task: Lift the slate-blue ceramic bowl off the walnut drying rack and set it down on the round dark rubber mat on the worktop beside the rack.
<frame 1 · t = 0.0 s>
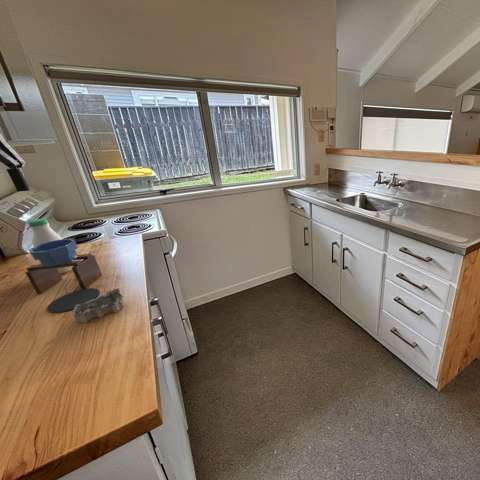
hand: (1, 196, 71), 32 cm above the countertop, tool pointing down, fingers open, 13 cm apart
mat: (74, 300, 78), on the countertop
bowl: (60, 260, 84), point 9 cm above the countertop, touching rack
rack: (71, 284, 87), on the countertop
egg carton: (102, 311, 73), on the countertop
milk bottle: (62, 271, 97), on the countertop
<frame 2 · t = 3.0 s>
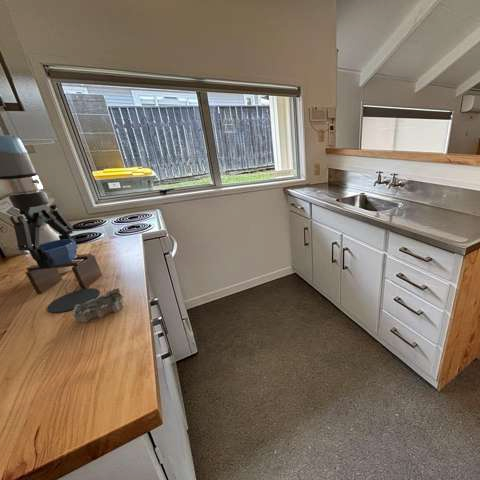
hand: (59, 259, 83), 9 cm above the countertop, tool pointing down, fingers closed on bowl, 10 cm apart
bowl: (60, 260, 84), point 9 cm above the countertop, touching gripper, rack
everything else where it was.
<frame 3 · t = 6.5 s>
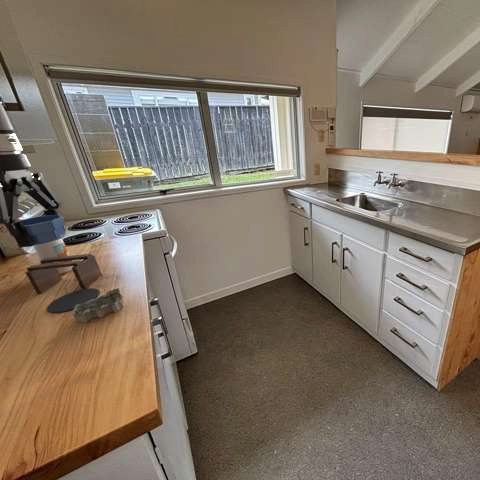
hand: (44, 238, 70), 20 cm above the countertop, tool pointing down, fingers closed on bowl, 10 cm apart
bowl: (45, 239, 71), point 20 cm above the countertop, touching gripper
everything else where it was.
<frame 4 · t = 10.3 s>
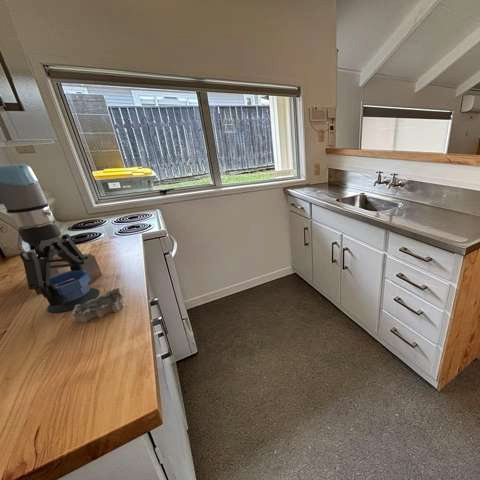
hand: (71, 293, 77), 2 cm above the countertop, tool pointing down, fingers closed on bowl, 10 cm apart
bowl: (71, 294, 77), point 2 cm above the countertop, touching gripper
everything else where it was.
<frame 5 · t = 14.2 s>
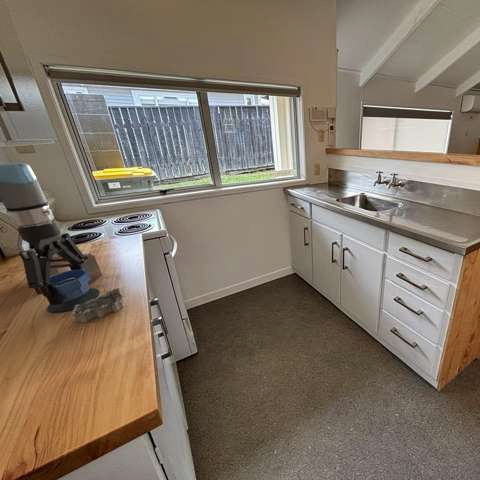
hand: (71, 292, 77), 3 cm above the countertop, tool pointing down, fingers closed on bowl, 10 cm apart
bowl: (71, 293, 77), point 2 cm above the countertop, touching gripper
everything else where it was.
when the fingers open (2 cm above the countertop, at t = 17.8 s): bowl drops 2 cm, resting on mat.
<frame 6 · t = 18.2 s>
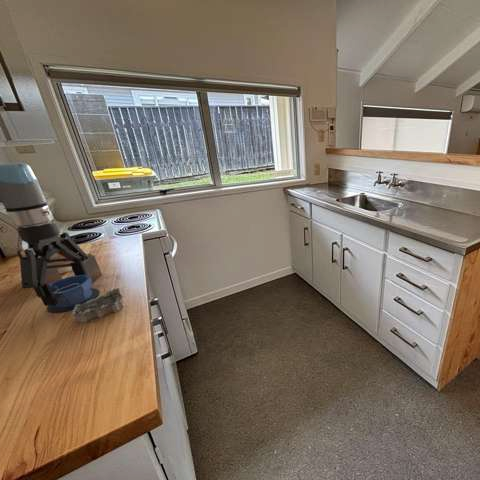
hand: (69, 291, 77), 3 cm above the countertop, tool pointing down, fingers open, 12 cm apart
bowl: (74, 299, 78), resting on mat
everything else where it was.
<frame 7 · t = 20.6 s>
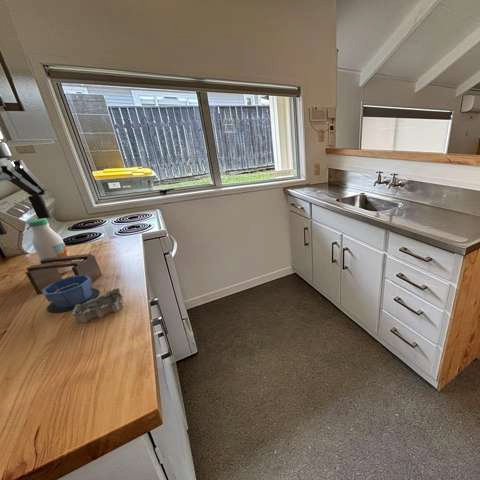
hand: (24, 225, 69), 24 cm above the countertop, tool pointing down, fingers open, 13 cm apart
nothing on the countertop moved.
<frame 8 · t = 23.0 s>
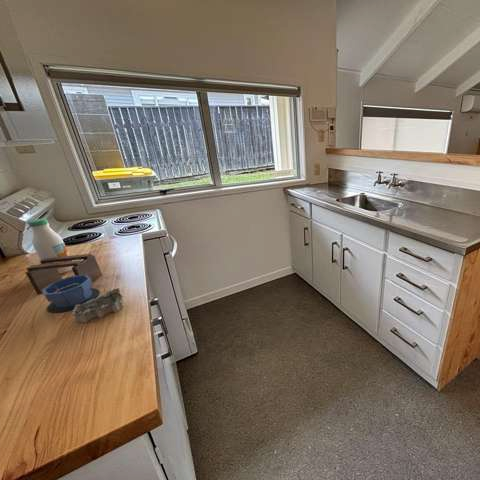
nothing on the countertop moved.
at the end: bowl 0.0 cm from the target spot, resting on mat; bowl tilted 0°; bowl touching mat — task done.
